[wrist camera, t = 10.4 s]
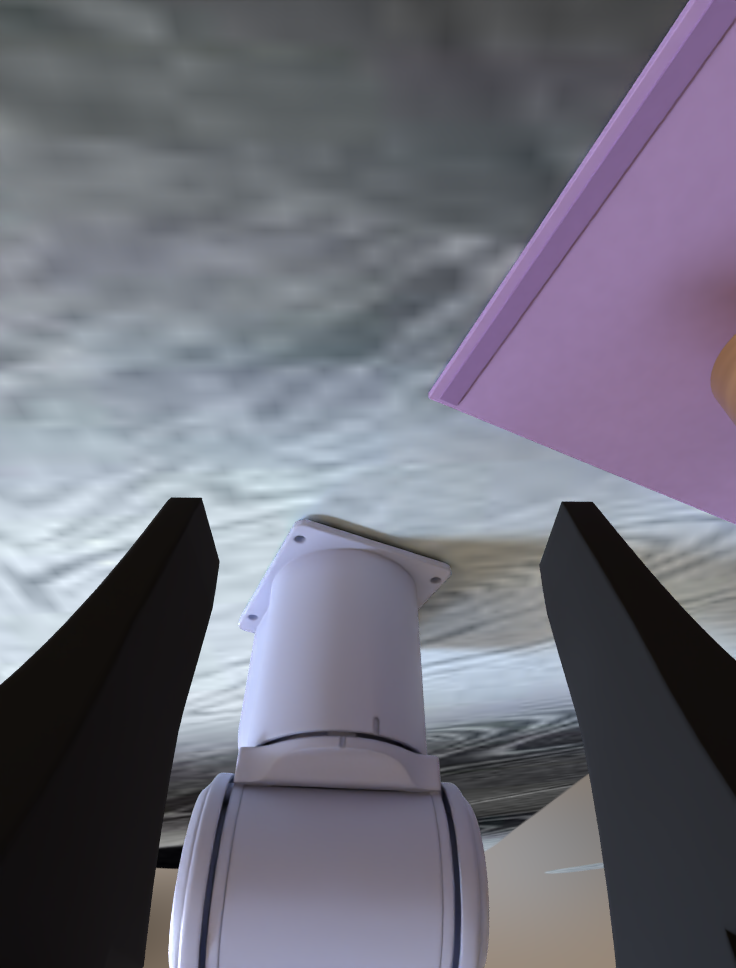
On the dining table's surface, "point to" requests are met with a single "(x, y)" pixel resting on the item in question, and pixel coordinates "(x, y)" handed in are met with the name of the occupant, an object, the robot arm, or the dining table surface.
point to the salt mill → (726, 379)
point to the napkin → (629, 287)
